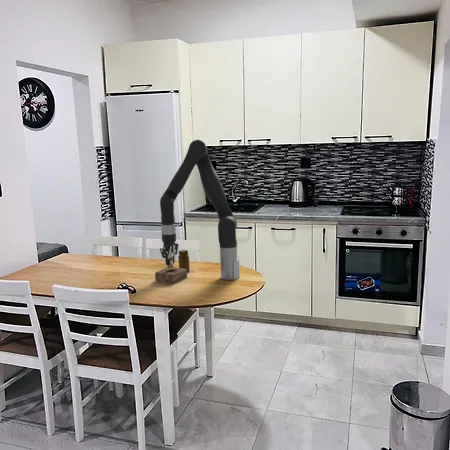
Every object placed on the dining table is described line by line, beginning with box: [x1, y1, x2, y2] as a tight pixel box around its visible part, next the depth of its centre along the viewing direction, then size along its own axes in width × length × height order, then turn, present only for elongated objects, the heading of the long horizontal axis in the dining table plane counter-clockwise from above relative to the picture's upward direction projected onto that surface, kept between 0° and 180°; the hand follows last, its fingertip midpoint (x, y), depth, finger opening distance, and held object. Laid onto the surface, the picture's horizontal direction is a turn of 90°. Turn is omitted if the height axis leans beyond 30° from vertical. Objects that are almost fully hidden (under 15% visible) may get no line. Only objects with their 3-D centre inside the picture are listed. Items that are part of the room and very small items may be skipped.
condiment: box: [177, 249, 195, 274], centre depth 243 cm, size 7×8×12 cm
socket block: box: [154, 266, 188, 285], centre depth 230 cm, size 12×12×5 cm
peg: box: [167, 252, 174, 268], centre depth 228 cm, size 4×4×8 cm
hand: (170, 264), depth 229 cm, fingers closed on peg, 3 cm apart
